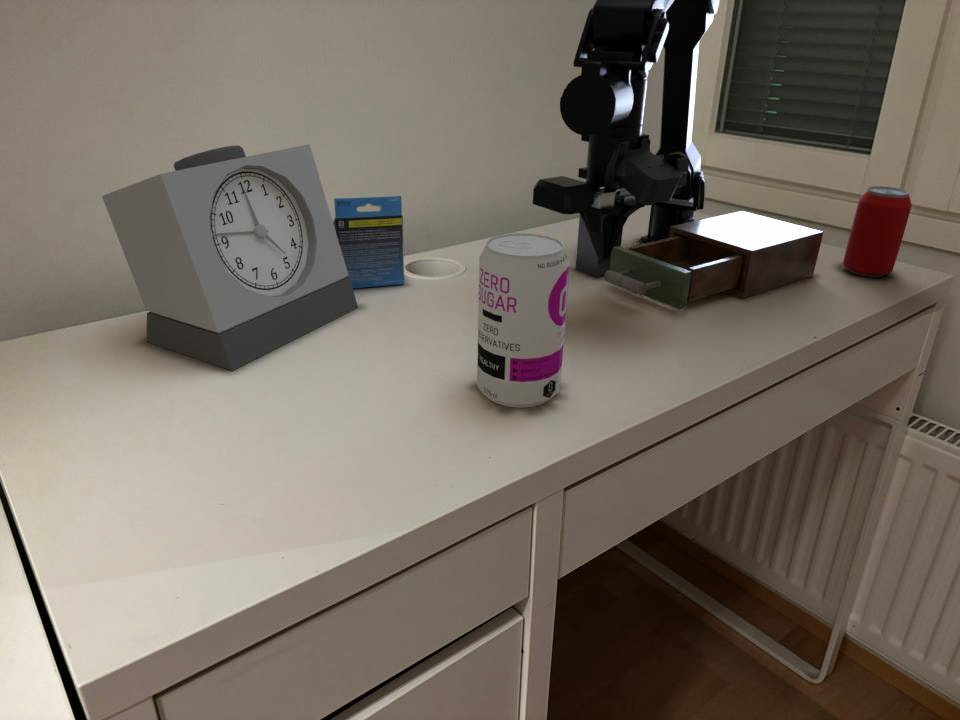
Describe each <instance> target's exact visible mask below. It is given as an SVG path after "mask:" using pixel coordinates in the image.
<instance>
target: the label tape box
mask: <svg viewBox="0 0 960 720" xmlns="http://www.w3.org/2000/svg"><path fill="white" fill-rule="evenodd" d="M333 203H334V219H333V220H332V221H333V224H334V228H335V231H336V235H337V238H338V241H339V245H340V248H341V251H342V255H343V258H344V261H345V265H346V268H347V272H348V275H349V276H347V277H348V278H350V281H351V285H352V288H353V290H356V289H365V288H371V287H385V286H396V285H397V286H398V285H399V286H400V285H405V259H404V257H405V255H404V254H405V253H404V252H405V251H404V250H405V249H404V216H403V209H402V208H403V205H402V203H403V202H402V195H394V196H392V195H391V196H390V195H389V196H365V197H364V196H361V197H334V198H333ZM367 205H370V206H371V207H377V208H379V209H378V210H368V211H367V210H365V211H364V210H363V211H359V210H358V208H361V207H362V208H364V207H366V206H367Z"/></svg>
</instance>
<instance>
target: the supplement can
mask: <svg viewBox="0 0 960 720" xmlns="http://www.w3.org/2000/svg"><path fill="white" fill-rule="evenodd" d="M485 243H486V245H485V246H484V248H483V250H482V252H481V254H479V257H478V303H477V304H478V305H477V306H478V307H477V308H478V310H477V311H478V313H477V314H478V315H477V361H476V362H477V365H476V366H477V367H476V370H477V372H476V383H477V384H476V385H477V386H476V387H477V388H478V390H479V391H480V392H481V394H483V395H484V396H485V398H487V399H488V400H490V401H491V402H493V403H495V404H497V405H500V406H504V407H508V408H518V409H519V408H520V409H522V408H523V409H524V408H534V407H537V406H540V405H543V404H545V403H547V402H548V401H549V400H551V399H552V398H553V397H554V396H556V395H558V392H559V391H560V389H561V381H562V370H563V369H562V368H563V356H564V355H563V354H564V343H565V329H566V318H567V315H566V313H567V303H568V292H569V291H568V290H569V277H570V265H571V264H570V261H569V258H568V256H567V253H566V252H565V245H564V243H563V242H562V241H561V240H559V239H557V238H555V237H551V236H548V235H544V234H538V233H529V232H528V233H527V232H515V233H514V232H510V233H504V234H498V235H495V236H492V237H490V238H489V239H487V241H485Z"/></svg>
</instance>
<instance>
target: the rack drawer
mask: <svg viewBox="0 0 960 720" xmlns="http://www.w3.org/2000/svg"><path fill="white" fill-rule="evenodd" d="M745 258H746V255H744V254H741V253H738V252H734V251H731V250H728V249H725V248H721V247H718V246H715V245H712V244H708V243H705V242H702V241H699V240H695V239H692V238H689V237H686V236H682V235H679V236H675V237H671V238H666V239H662V240H658V241H653V242H646V243H641V244H637V245H632V246H628V248H626V247H623V246H621V247H620V246H615V247H613V250H612V252H611V262H610V270H608V271H607V272H606V273H605V275H604V276H603V279H604V282H606V283H608V284H611V285H612V286H613V285H614V286H616V287H618V288H620V289H623V290H626V291H627V292H631V293H633V294H635V295H638V296H645V297H647V298H649V299H652V300H654V301H657V302H659V303H662V304H664V305H667V306H669V307H672V308H674V309H677V310H678V311H681V310H685V309H686V308H687V303H689V302H693V301H696V300H699V299H702V298H705V297H709V296H713V295H716V294H719V293H722V292H724V291H725V290H729V289H732V288H735V287H738V286H740V284H741V279H742V274H743V269H744V263H745Z"/></svg>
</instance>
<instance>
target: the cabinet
mask: <svg viewBox="0 0 960 720" xmlns="http://www.w3.org/2000/svg"><path fill="white" fill-rule="evenodd" d="M679 235H682V236H686V237H689V238H692V239H695V240H699V241H702V242H705V243H708V244H712V245H715V246H718V247H721V248H725V249H728V250H731V251H734V252H738V253H741V254H744V255H746V258H745V263H744V269H743V274H742V279H741V284H740V286H738V287H735V288H732V289H729V290H725V291H723V293H726V294H729V295H732V296H735V297H738V298H741V299H745V298H746V299H747V298H749V297H752V296H754V295H757V294H761V293H764V292H765V293H766V292H768V291H771V290H773V289H776V288H780V287H783V286H786V285H789V284H792V283H795V282H799V281H802V280H804V279H807V278H811V277H813V276H814V273H815V269H816V265H817V261H818V257H819V252H820V249H821V245H822V241H823V236H824V231H822V230H819V229H814V228H810V227H806V226H803V225H800V224H799V225H798V224H794V223H791V222H787V221H783V220H779V219H775V218H772V217H767V216H765V215H760V214H756V213H753V212H748V211H744V210H739V211H735V212H730V213H725V214H722V215H717V216H713V217H707V218H703V219H699V220H694V221H693V222H689V223H684V224H679V225H675V226H671V227H670V235H669V238H671V237H675V236H679Z"/></svg>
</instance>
